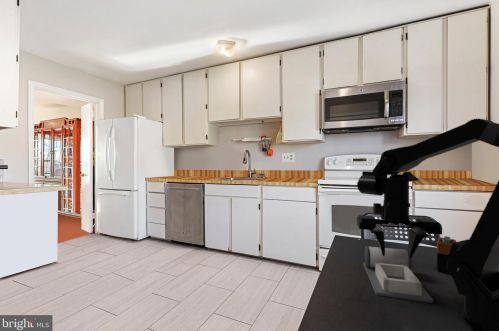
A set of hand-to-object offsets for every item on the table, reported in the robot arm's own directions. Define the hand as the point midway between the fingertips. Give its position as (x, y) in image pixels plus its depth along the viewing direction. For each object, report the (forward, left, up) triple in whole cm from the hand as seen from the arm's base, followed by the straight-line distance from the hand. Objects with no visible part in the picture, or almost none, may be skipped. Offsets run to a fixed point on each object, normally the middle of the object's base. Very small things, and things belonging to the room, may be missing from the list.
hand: (396, 256), depth 66 cm
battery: (+17, -18, -8) cm, 26 cm away
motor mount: (+4, 0, -8) cm, 9 cm away
